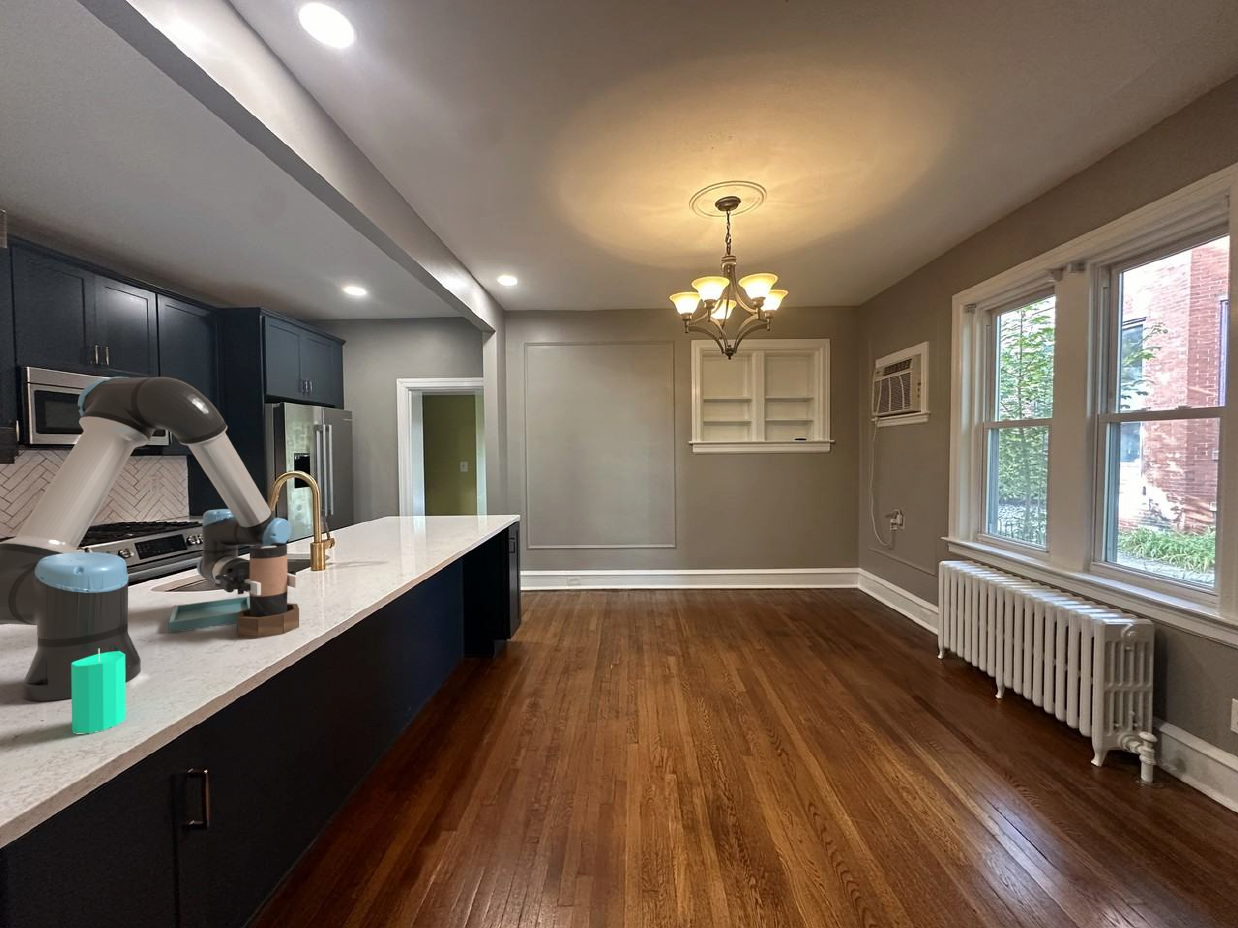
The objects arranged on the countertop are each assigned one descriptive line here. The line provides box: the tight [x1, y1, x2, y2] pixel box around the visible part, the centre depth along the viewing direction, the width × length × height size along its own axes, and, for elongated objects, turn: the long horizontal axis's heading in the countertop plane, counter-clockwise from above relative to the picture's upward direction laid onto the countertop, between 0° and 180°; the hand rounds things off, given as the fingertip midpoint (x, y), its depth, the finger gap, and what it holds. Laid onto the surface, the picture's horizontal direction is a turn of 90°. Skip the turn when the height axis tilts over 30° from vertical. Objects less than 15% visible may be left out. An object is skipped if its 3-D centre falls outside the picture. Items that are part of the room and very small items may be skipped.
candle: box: [71, 649, 127, 733], centre depth 81 cm, size 6×6×12 cm
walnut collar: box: [237, 602, 300, 639], centre depth 125 cm, size 12×12×4 cm
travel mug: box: [248, 543, 289, 617], centre depth 125 cm, size 8×8×20 cm
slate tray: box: [168, 595, 250, 634], centre depth 133 cm, size 16×16×2 cm
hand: (278, 585), depth 123 cm, fingers closed on travel mug, 7 cm apart
